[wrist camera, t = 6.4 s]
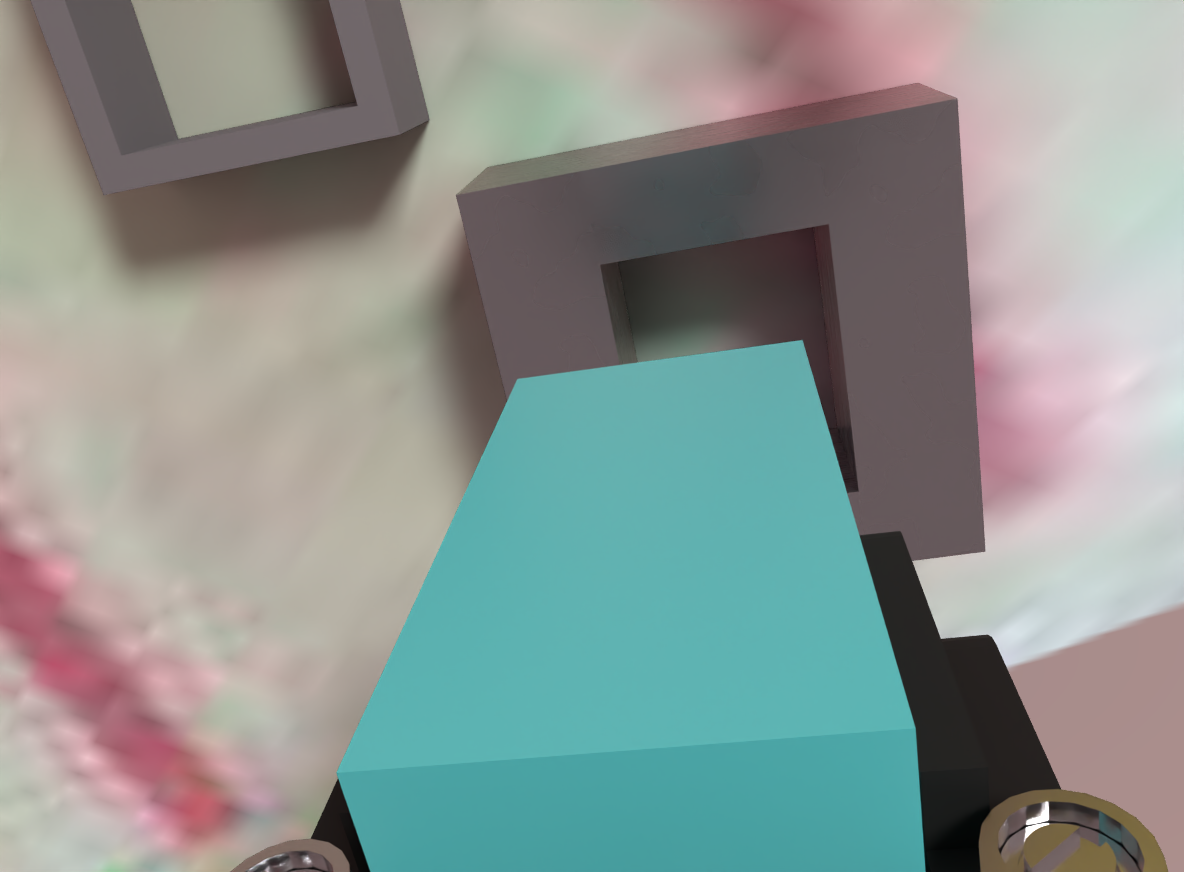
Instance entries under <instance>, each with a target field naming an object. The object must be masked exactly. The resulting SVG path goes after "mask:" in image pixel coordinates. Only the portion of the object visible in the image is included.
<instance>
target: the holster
mask: <svg viewBox="0 0 1184 872" xmlns="http://www.w3.org/2000/svg"><path fill="white" fill-rule="evenodd" d="M30 1H31V3H32V6H33V9H34V11H35V14H36V17H37V19H38V22H39V25H40V27H41V30H42V33H43V35H44V38H45V41H46V43H47V46H48V48H49V51H50V54H51V56H52V59H53V62H54V64H55V67H56V70H57V72H58V75H59V78H60V80H61V83H62V86H63V88H64V91H65V94H66V96H67V99H68V102H69V104H70V107H71V110H72V112H73V115H74V117H75V120H76V123H77V125H78V128H79V131H80V133H81V136H82V139H83V141H84V144H85V147H86V149H87V152H88V155H89V157H90V160H91V163H92V165H93V168H94V171H95V173H96V176H97V179H98V181H99V184H100V186H101V189H102V192H103V194H104V195H107V194H112V193H116V192H121V191H126V190H131V189H136V188H141V187H146V186H151V185H156V184H161V183H165V182H170V181H175V180H180V179H185V178H190V177H195V176H200V175H205V174H210V173H215V172H219V171H224V170H229V169H234V168H239V167H244V166H249V165H254V164H259V163H264V162H268V161H273V160H278V159H283V158H288V157H293V156H298V155H303V154H308V153H313V152H317V151H322V150H327V149H332V148H337V147H342V146H347V145H352V144H357V143H362V142H366V141H371V140H376V139H381V138H386V137H391V136H396V135H400V134H402V133H404V132H406V131H408V130H410V129H412V128H414V127H416V126H418V125H420V124H422V123H424V122H426V121H428V120H430V119H429V115H428V111H427V107H426V103H425V99H424V95H423V91H422V87H421V83H420V79H419V75H418V71H417V67H416V63H415V59H414V55H413V51H412V47H411V44H410V40H409V36H408V32H407V28H406V24H405V20H404V16H403V12H402V8H401V4H400V0H329V3H330V7H331V11H332V14H333V18H334V22H335V25H336V29H337V32H338V36H339V40H340V43H341V47H342V51H343V54H344V58H345V62H346V65H347V69H348V72H349V76H350V80H351V83H352V87H353V91H354V94H355V98H356V102H352V103H347V104H342V105H338V106H333V107H328V108H323V109H319V110H314V111H309V112H304V113H300V114H295V115H290V116H285V117H281V118H276V119H271V120H267V121H262V122H257V123H252V124H248V125H243V126H238V127H233V128H229V129H224V130H219V131H214V132H210V133H205V134H200V135H195V136H191V137H186V138H181V139H178V137H177V134H176V131H175V128H174V125H173V122H172V119H171V117H170V114H169V111H168V108H167V105H166V102H165V99H164V96H163V93H162V90H161V87H160V84H159V81H158V79H157V76H156V73H155V70H154V67H153V64H152V61H151V58H150V55H149V52H148V49H147V46H146V44H145V41H144V38H143V35H142V32H141V29H140V26H139V23H138V20H137V17H136V14H135V11H134V8H133V6H132V3H131V0H30Z"/></svg>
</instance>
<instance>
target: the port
mask: <svg viewBox="0 0 1184 872" xmlns="http://www.w3.org/2000/svg"><path fill="white" fill-rule="evenodd" d="M456 197H457V201H458V205H459V209H460V213H461V217H462V221H463V225H464V229H465V233H466V238H467V242H468V246H469V250H470V254H471V258H472V262H473V266H474V270H475V274H476V278H477V282H478V286H479V290H480V294H481V298H482V302H483V306H484V310H485V314H486V318H487V322H488V326H489V330H490V334H491V338H492V343H493V347H494V351H495V355H496V359H497V363H498V367H499V371H500V375H501V379H502V383H503V387H504V391H505V395H506V399H507V401H508V398H509V396H510V394H511V392H512V390H513V388H514V385H515V383H516V381H517V379H521V378H528V377H536V376H543V375H550V374H558V373H565V372H572V371H580V370H587V369H594V368H601V367H609V366H616V365H623V364H631V363H637V358H636V353H635V348H634V342H633V337H632V332H631V327H630V322H629V317H628V311H627V306H626V301H625V296H624V291H623V285H622V280H621V275H620V270H619V265H618V262H619V261H624V260H630V259H635V258H641V257H647V256H652V255H658V254H664V253H669V252H675V251H680V250H686V249H692V248H697V247H703V246H709V245H714V244H720V243H725V242H731V241H737V240H742V239H748V238H754V237H759V236H765V235H770V234H776V233H782V232H787V231H793V230H799V229H804V228H810V227H813V228H814V237H815V245H816V254H817V262H818V271H819V279H820V288H821V296H822V304H823V313H824V321H825V330H826V338H827V347H828V355H829V364H830V372H831V381H832V389H833V398H834V406H835V415H836V423H837V428H836V429H829V433H830V436H831V440H832V443H833V447H834V450H835V453H836V457H837V460H838V464H839V467H840V471H841V474H842V477H843V481H844V484H845V488H846V491H847V495H848V498H849V502H850V505H851V508H852V512H853V515H854V519H855V522H856V526H857V529H858V532H859V535H866V534H875V533H885V532H894V531H901V533H902V535H903V538H904V540H905V543H906V546H907V549H908V551H909V554H910V557H911V559H912V561H914V560H922V559H930V558H938V557H946V556H954V555H962V554H970V553H978V552H985V538H984V521H983V505H982V489H981V473H980V457H979V441H978V424H977V408H976V392H975V376H974V360H973V343H972V327H971V311H970V295H969V279H968V262H967V246H966V230H965V214H964V198H963V182H962V165H961V149H960V133H959V117H958V101H957V98H955V97H952V96H950V95H947V94H945V93H942V92H940V91H937V90H935V89H932V88H930V87H927V86H925V85H922V84H920V83H915V84H910V85H905V86H900V87H895V88H889V89H884V90H879V91H874V92H869V93H864V94H859V95H854V96H849V97H844V98H839V99H833V100H828V101H823V102H818V103H813V104H808V105H803V106H798V107H793V108H788V109H782V110H777V111H772V112H767V113H762V114H757V115H752V116H747V117H742V118H737V119H731V120H726V121H721V122H716V123H711V124H706V125H701V126H696V127H691V128H686V129H680V130H675V131H670V132H665V133H660V134H655V135H650V136H645V137H640V138H635V139H629V140H624V141H619V142H614V143H609V144H604V145H599V146H594V147H589V148H584V149H578V150H573V151H568V152H563V153H558V154H553V155H548V156H543V157H538V158H533V159H527V160H522V161H517V162H512V163H507V164H502V165H497V166H492V167H487V168H486V169H485V170H484V171H483V172H482V173H480V174H479V175H478V176H477V177H476V178H475V179H474V180H473V181H471V182H470V183H469V184H468V185H467V186H466V187H465V188H464V189H462V190H461V191H460V192H459V193H458V194H457V195H456Z"/></svg>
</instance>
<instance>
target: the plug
mask: <svg viewBox="0 0 1184 872" xmlns="http://www.w3.org/2000/svg"><path fill="white" fill-rule="evenodd" d="M337 776H338V779H339V782H340V785H341V788H342V791H343V794H344V797H345V799H346V802H347V805H348V808H349V811H350V814H351V817H352V820H353V823H354V826H355V828H356V831H357V834H358V837H359V840H360V843H361V846H362V849H363V852H364V855H365V857H366V860H367V863H368V866H369V869H370V872H925V857H924V843H923V829H922V814H921V800H920V785H919V771H918V756H917V742H916V728H915V725H914V721H913V718H912V714H911V711H910V708H909V704H908V701H907V697H906V694H905V690H904V687H903V683H902V680H901V677H900V673H899V670H898V666H897V663H896V659H895V656H894V653H893V649H892V646H891V642H890V639H889V635H888V632H887V629H886V625H885V622H884V618H883V615H882V611H881V608H880V605H879V601H878V598H877V594H876V591H875V587H874V584H873V580H872V577H871V574H870V570H869V567H868V563H867V560H866V556H865V553H864V550H863V546H862V543H861V539H860V536H859V532H858V529H857V526H856V522H855V519H854V515H853V512H852V508H851V505H850V502H849V498H848V495H847V491H846V488H845V484H844V481H843V477H842V474H841V471H840V467H839V464H838V460H837V457H836V453H835V450H834V447H833V443H832V440H831V436H830V433H829V429H828V426H827V423H826V419H825V416H824V412H823V409H822V405H821V402H820V398H819V395H818V392H817V388H816V385H815V381H814V378H813V374H812V371H811V368H810V364H809V361H808V357H807V354H806V350H805V347H804V344H803V340H799V341H792V342H784V343H777V344H770V345H762V346H755V347H748V348H741V349H733V350H726V351H719V352H711V353H704V354H697V355H689V356H682V357H675V358H667V359H660V360H653V361H645V362H638V363H631V364H623V365H616V366H609V367H601V368H594V369H587V370H580V371H572V372H565V373H558V374H550V375H543V376H536V377H528V378H521V379H517V381H516V383H515V385H514V388H513V390H512V392H511V394H510V396H509V398H508V401H507V403H506V405H505V407H504V409H503V411H502V414H501V416H500V418H499V420H498V422H497V424H496V427H495V429H494V431H493V433H492V435H491V438H490V440H489V442H488V444H487V446H486V448H485V451H484V453H483V455H482V457H481V459H480V461H479V464H478V466H477V468H476V470H475V472H474V475H473V477H472V479H471V481H470V483H469V485H468V488H467V490H466V492H465V494H464V496H463V498H462V501H461V503H460V505H459V507H458V509H457V512H456V514H455V516H454V518H453V520H452V522H451V525H450V527H449V529H448V531H447V533H446V535H445V538H444V540H443V542H442V544H441V546H440V549H439V551H438V553H437V555H436V557H435V559H434V562H433V564H432V566H431V568H430V570H429V572H428V575H427V577H426V579H425V581H424V583H423V586H422V588H421V590H420V592H419V594H418V596H417V599H416V601H415V603H414V605H413V607H412V609H411V612H410V614H409V616H408V618H407V620H406V622H405V625H404V627H403V629H402V631H401V633H400V636H399V638H398V640H397V642H396V644H395V646H394V649H393V651H392V653H391V655H390V657H389V659H388V662H387V664H386V666H385V668H384V670H383V673H382V675H381V677H380V679H379V681H378V683H377V686H376V688H375V690H374V692H373V694H372V696H371V699H370V701H369V703H368V705H367V707H366V710H365V712H364V714H363V716H362V718H361V720H360V723H359V725H358V727H357V729H356V731H355V733H354V736H353V738H352V740H351V742H350V744H349V747H348V749H347V751H346V753H345V755H344V757H343V760H342V762H341V764H340V766H339V768H338V770H337Z"/></svg>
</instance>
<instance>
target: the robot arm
mask: <svg viewBox="0 0 1184 872" xmlns="http://www.w3.org/2000/svg"><path fill="white" fill-rule="evenodd" d="M859 536H860V539H861V543H862V546H863V550H864V553H865V556H866V560H867V563H868V567H869V570H870V574H871V577H872V580H873V584H874V587H875V591H876V594H877V598H878V601H879V605H880V608H881V611H882V615H883V618H884V622H885V625H886V629H887V632H888V635H889V639H890V642H891V646H892V649H893V653H894V656H895V659H896V663H897V666H898V670H899V673H900V677H901V680H902V683H903V687H904V690H905V694H906V697H907V701H908V704H909V708H910V711H911V714H912V718H913V721H914V725H915V728H916V742H917V756H918V771H919V785H920V800H921V814H922V829H923V843H924V857H925V872H1168V869H1167V865H1166V861H1165V858H1164V855H1163V853H1162V851H1161V849H1160V847H1159V845H1158V843H1157V841H1156V840H1155V837H1154V836H1153V835H1152V834H1151V832H1149V830H1148V829H1147V828H1146V827H1145V826H1144V825H1143V824H1142V823H1141V822H1140V821H1139V820H1138V819H1137V818H1136V817H1134V816H1132V815H1131V814H1129V813H1128V812H1126V811H1124V810H1123V809H1121V808H1120V807H1118V806H1116V805H1115V804H1113V803H1111V802H1108V801H1105V800H1103V799H1100V798H1097V797H1094V796H1092V795H1089V794H1086V793H1079V792H1073V791H1067V790H1061V788H1060V786H1059V783H1058V781H1057V779H1056V776H1055V774H1054V772H1053V770H1052V768H1051V765H1050V763H1049V761H1048V759H1047V756H1046V754H1045V752H1044V750H1043V748H1042V745H1041V743H1040V741H1039V739H1038V737H1037V734H1036V732H1035V730H1034V728H1033V725H1032V723H1031V721H1030V719H1029V717H1028V714H1027V712H1026V710H1025V708H1024V706H1023V703H1022V701H1021V699H1020V697H1019V695H1018V692H1017V690H1016V687H1015V685H1014V683H1013V681H1012V679H1011V676H1010V674H1009V672H1008V670H1007V667H1006V665H1005V663H1004V661H1003V659H1002V656H1001V654H1000V652H999V650H998V647H997V645H996V644H995V642H994V640H993V638H992V637H991V636H989V635H979V636H968V637H957V638H946V639H941V638H940V635H939V633H938V630H937V627H936V625H935V622H934V619H933V616H932V614H931V611H930V608H929V606H928V603H927V600H926V597H925V595H924V592H923V589H922V587H921V584H920V581H919V578H918V576H917V573H916V570H915V568H914V565H913V562H912V559H911V557H910V554H909V551H908V549H907V546H906V543H905V540H904V538H903V535H902V533H901V531H894V532H885V533H875V534H866V535H859ZM230 872H370V869H369V866H368V863H367V860H366V857H365V855H364V852H363V849H362V846H361V843H360V840H359V837H358V834H357V831H356V828H355V826H354V823H353V820H352V817H351V814H350V811H349V808H348V805H347V802H346V799H345V797H344V794H343V791H342V788H341V785H340V782H339V779H338V780H337V782H336V784H335V786H334V789H333V791H332V793H331V795H330V797H329V800H328V802H327V804H326V806H325V808H324V811H323V813H322V815H321V817H320V819H319V822H318V824H317V826H316V828H315V830H314V833H313V835H312V837H311V839H303V840H292V841H287V842H284V843H281V844H278V845H275V846H271V847H268V848H266V849H264V850H262V851H260V852H259V853H257V854H255V855H253V856H251V857H249V858H247V859H246V860H244V861H243V862H242V863H241V864H239V865H238V866H237V867H236V868H234V869H233V870H232V871H230Z"/></svg>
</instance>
